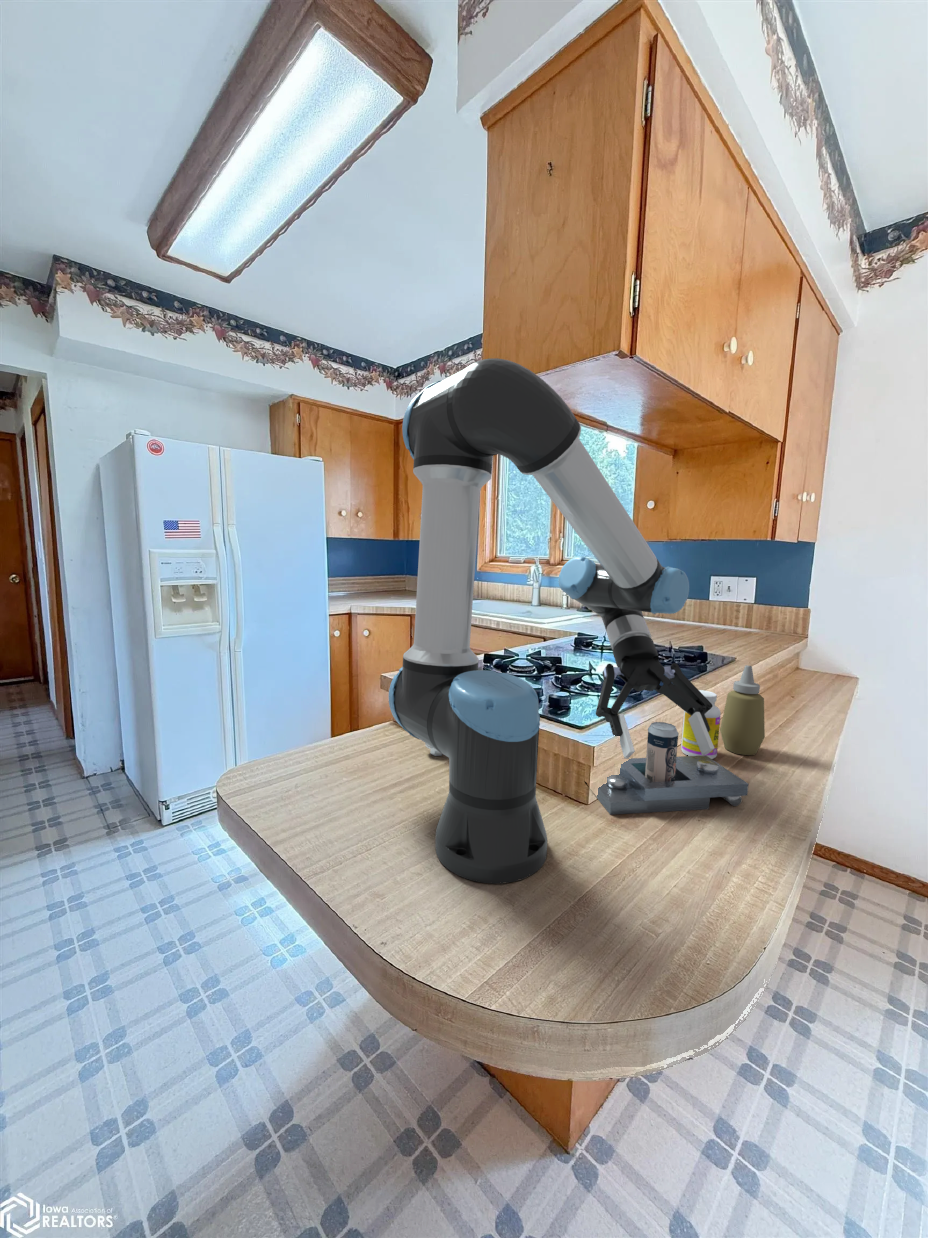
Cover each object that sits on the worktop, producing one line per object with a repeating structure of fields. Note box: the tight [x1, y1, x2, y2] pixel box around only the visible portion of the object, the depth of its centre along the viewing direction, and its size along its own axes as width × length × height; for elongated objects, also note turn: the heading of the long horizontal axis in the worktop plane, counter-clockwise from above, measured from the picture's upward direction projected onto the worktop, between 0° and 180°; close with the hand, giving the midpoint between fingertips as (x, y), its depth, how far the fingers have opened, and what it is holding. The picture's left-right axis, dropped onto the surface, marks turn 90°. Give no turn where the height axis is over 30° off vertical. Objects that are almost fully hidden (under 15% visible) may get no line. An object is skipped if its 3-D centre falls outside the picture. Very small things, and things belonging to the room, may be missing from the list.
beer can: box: [645, 721, 679, 782], centre depth 81 cm, size 5×5×12 cm
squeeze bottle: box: [719, 665, 766, 756], centre depth 100 cm, size 8×8×18 cm
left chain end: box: [596, 774, 711, 815], centre depth 81 cm, size 16×11×3 cm, turn 97°
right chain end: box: [619, 755, 749, 807], centre depth 82 cm, size 18×11×5 cm, turn 97°
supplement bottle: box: [680, 689, 722, 760], centre depth 98 cm, size 7×7×13 cm
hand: (669, 753), depth 79 cm, fingers open, 13 cm apart
